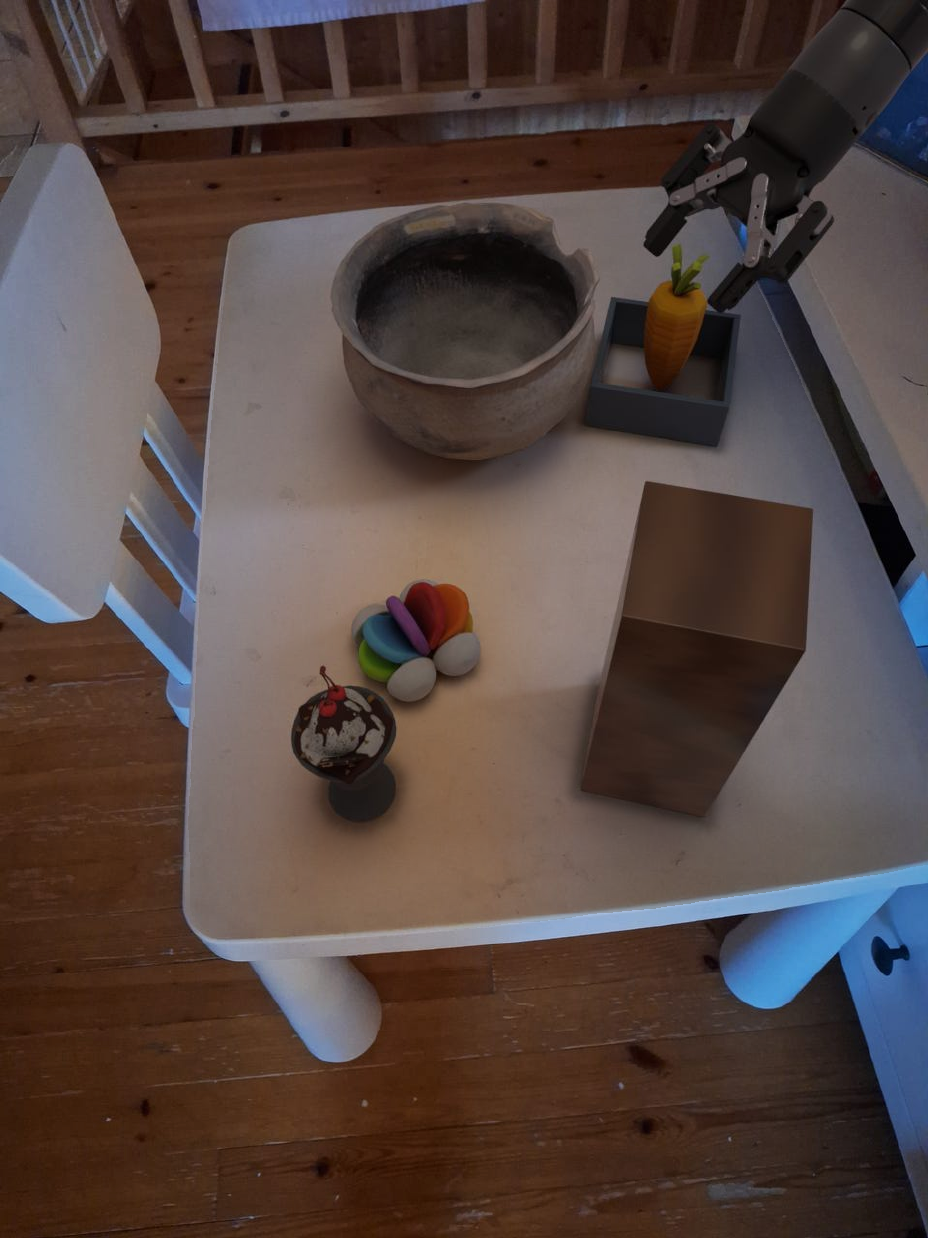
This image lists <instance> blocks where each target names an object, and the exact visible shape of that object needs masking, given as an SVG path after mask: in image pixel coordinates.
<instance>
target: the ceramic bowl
mask: <svg viewBox="0 0 928 1238" xmlns="http://www.w3.org/2000/svg"><path fill="white" fill-rule="evenodd" d="M599 273H600V272H599V270H598V267H597V265H596V264H595V260H594V256H593V255H592V253H591V252H590V250H589V249H587V248H581V247H578V248H577V249H576V250H574V252H573V253H572V254H568V255H567V254H565V253H564V252H563V250H562V247H561V241H560V239H559V235H558V232H557V228H556V225H555V222H554V219H553V218H551V217H549V216H547V215H545V214H543V213H541V212H539V211H537V210H536V209H533V208H531V207H526V206H524V205H523V206H522V205H518V204H513V203H500V202H480V203H478V202H477V203H473V202H472V203H471V202H462V203H456V204H452V205H441V204H439V205H434V206H428V207H425V208H421V209H417V210H413V211H409V212H406V213H404V214H403V213H402V214H401V215H400V214H399V215H397V216H394V217H391V218H389V219H387V220H385V221H382V222H380V223H378V224H377V225H375V226H374V227H373V228H372V229H370V231H369V232H367V233H366V234H364V235H362V237H361V238H359V239H358V240H357V241H356V242H355V243H354V244H353V245H352V247H351V248H350V249H349V251H348V252H347V253H346V255H345V256H344V258H343V259H342V260H341V261H340V263H339V265H338V267H337V269H336V271H335V274H334V278H333V281H332V285H331V289H330V300H331V309H330V310H331V313H332V316H333V319H334V320H335V322H336V325H337V327H338V328H339V330H340V331H341V333H342V334H341V336H342V337H341V341H342V342H341V347H342V355H343V364H344V369H345V372H346V375H347V378H348V381H349V384H350V385H351V387H352V390H353V392H354V395H355V397H356V398H357V400H358V402H359V403H360V405H361V406H362V407H363V408H364V410H365V411H366V412H367V413H368V414H369V416H370V417H371V418H372V419H373V420H374V421H375V422H376V423H377V424H378V425H379V426H380V427H382V428H383V429H384V430H385V431H386V432H388V433H389V434H391V435H392V436H394V437H395V438H397V439H398V440H399V441H401V442H403V443H405V444H407V445H409V446H411V447H412V448H414V449H417V450H419V451H420V452H422V453H426V454H429V455H432V456H437V457H440V458H445V459H453V460H467V461H480V460H481V461H483V460H489V459H494V458H498V457H501V456H505V455H508V454H512V453H513V452H517V451H520V450H523V449H525V448H527V447H528V446H530V445H531V444H533V443H535V442H536V441H538V440H540V439H541V438H543V437H544V436H545V435H546V434H547V433H548V432H549V431H551V430H552V429H553V428H554V427H555V426H556V425H557V424H558V423H560V422H561V421H562V419H563V418H564V417H565V416H566V415H567V414H568V413H569V412H570V411H571V409H572V408H573V407H574V405H575V404H576V402H577V401H578V400H579V398H580V397H581V395H582V394H583V392H584V391H585V388H586V386H587V383H588V380H589V377H590V374H591V370H592V366H593V365H592V364H593V359H594V352H595V351H594V350H595V322H594V316H593V315H594V312H595V310H596V301H595V300H594V294H595V292H596V289H597V287H598V284H599V283H600V280H601V278H600V277H601V276H600V274H599Z"/></svg>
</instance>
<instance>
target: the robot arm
mask: <svg viewBox="0 0 928 1238" xmlns="http://www.w3.org/2000/svg"><path fill="white" fill-rule="evenodd" d="M927 53H928V0H845V2H844V3H843V4H842V5H841V7H840V8H839V10H837V12H836V13H835V14H834V16H832V18H830V20H829V21H827V23H826V24H825V25H824V26H823V27H822V28H821V29H819V31H818V32H817V33H816V34H815V35H814V36H813V37H812V38H811V40H810V41H809V42H808V43H807V44H806V46H805V47H804V48H803V50H802V51H801V52H800V53H799V55H798V56H797V57H796V59H795V60H794V61H793V63H792V64H791V65H790V67H789V68H788V69H787V70H786V71H785V73H784V74H783V75H782V76H781V77H780V79H779V81H777V83H776V84H775V86H774V87H772V90H771V91H769V93H768V95H767V96H766V97H765V98H764V99H763V100H762V102H761V104H760V105H758V107H757V109H756V110H755V111H754V112H753V114H752V115H751V116H750V118H749V121H748V123H747V126H746V129H745V130H744V132H743V133H742V134H741V135H740V136H739V137H738V138H736V139H735V140H730V139H729V138H728V137H727V135H726V134H725V132H724V131H722V129H721V128H720V127H719V126H718V125H717V123H716V122H715V121H711V122H708V123H707V124H705V126H704V127H703V128H702V129H701V130H700V132H699V133H698V135H696V136H695V138H694V139H693V140H692V141H691V143H690V144H689V145H688V146H687V147H686V149H684V151H683V152H682V153H681V155H680V156H679V157H678V158H677V160H676V161H675V162H674V163H673V164H672V166H671V167H669V169H668V170H667V171H666V173H665V174H664V175H663V176H662V178H661V180H660V185H661V187H662V188H664V191H665V192H666V195H667V198H668V202H667V205H666V206H665V207H664V209H663V210H662V211H661V213H660V214H659V215H658V217H657V218H656V219H655V221H654V222H653V223H652V225H651V226H650V227H649V229H647V231H646V233H645V235H644V238H645V240H644V242H643V244H642V245H643V248H644V249H645V250H646V251H648V252H649V253H650V254H651V255H653V256H654V257H655V258H658V257H660V256H661V255H662V254H663V253H664V252H665V251H666V250H667V248H668V247H669V246H670V244H671V243H672V242H673V241H674V239H675V238H676V236H678V234H679V233H680V232H681V231H682V229H683V228H684V227H685V226H686V224H687V223H688V220H687V219H686V218H688V217H691V216H693V215H696V214H698V213H700V212H702V211H706V210H715V209H719V208H722V209H723V210H724V211H725V212H727V213H728V214H729V215H730V216H733V217H735V218H737V220H738V221H740V223H741V224H742V225H743V226H744V227H746V229H745V236H746V238H747V239H746V245H745V252H744V258H743V263H742V264H741V263H740V262H737V263H736V264H735V265H734V266H733V267H732V269H731V270H730V271H729V272H728V274H727V275H726V276H725V277H724V279H723V280H722V281H721V282H720V283H719V284H718V285H717V287H716V288H715V289H714V290H713V291H712V293H711V294H710V295H709V296H708V298H707V305H709V306H710V307H711V308H712V309H713V310H714V311H717V312H719V313H722V312H725V311H726V310H727V311H731V310H732V309H734V308H735V307H736V306H737V305H738V304H739V303H740V302H741V300H742V299H743V298H744V297H745V296H746V294H747V293H748V292H749V291H750V290H751V289H752V287H753V286H754V285H755V284H756V283H757V282H758V281H760V280H762V279H769V280H771V281H775V282H776V283H778V284H779V285H780V284H782V285H783V284H785V283H788V281H789V280H790V279H791V277H793V275H794V274H795V273H796V272H797V270H798V269H799V268H800V267H801V265H802V264H803V263H804V261H806V259H807V258H808V256H809V255H810V253H811V252H812V251H813V250H814V249H815V247H816V246H817V245H818V244H819V242H820V241H821V240H822V239H823V238H824V236H825V235H826V234H827V232H828V231H829V229H830V228H831V227H832V226H833V225H834V222H835V217H834V215H833V214H832V212H831V210H830V209H829V207H828V206H827V205H826V204H825V202H823V201H822V200H816V201H815V200H813V199H811V198H810V195H811V193H812V191H813V189H814V188H815V187H816V186H817V185H819V184H820V183H822V182H823V181H824V180H825V179H826V178H827V177H828V176H829V174H830V173H831V172H832V171H833V170H834V169H835V167H836V166H837V165H838V164H839V163H840V161H841V160H842V159H843V158H844V157H845V156H846V154H847V153H848V152H849V151H850V149H851V148H852V147H853V146H854V145H855V143H856V142H857V141H858V140H859V139H860V137H862V135H863V134H864V133H865V132H866V131H867V130H868V128H869V127H870V126H872V124H873V123H874V122H875V121H876V119H877V118H878V116H880V114H881V112H883V111H884V109H885V108H886V107H887V105H888V104H889V103H890V101H892V99H893V97H894V96H895V95H896V93H897V91H898V90H899V88H900V87H901V85H902V84H903V82H904V81H905V80H906V79H907V77H908V76H909V75H910V73H911V72H912V71H913V70H914V69H915V68H916V66H917V65H918V64H919V63H920V61H921V60H922V59H923V58H924V57H925V56H926V54H927ZM718 162H720V166H719V167H718V168H716V169H714V170H711V171H709V172H707V173H705V172H706V171H707V170H708V169H709V168H710V167H711V165H712V164H713V163H718ZM704 173H705V174H704ZM793 215H796V216H795V219H794V226H793V227H792V228H791V230H790V231H789V232H788V234H786V236H785V237H784V239H782V241H781V242H780V244H779V245H778V246H777V244H778V238H779V233H780V227H781V221H782V220H784V219H786V218H788V217H791V216H793ZM776 247H777V248H776ZM775 248H776V249H775ZM774 249H775V250H774Z"/></svg>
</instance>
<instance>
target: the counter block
mask: <svg viewBox="0 0 928 1238" xmlns="http://www.w3.org/2000/svg"><path fill="white" fill-rule="evenodd" d="M643 485H644V486H643V488H642V489H643V490H642V493H641V498H640V503H639V506H638V511H637V516H636V519H635V520H636V521H635V525H634V528H633V533H632V538H631V543H630V547H629V551H628V556H627V560H626V565H625V569H624V573H623V578H622V582H621V586H620V591H619V594H618V600H617V604H616V608H615V613H614V618H613V622H612V626H611V631H610V635H609V639H608V643H607V649H606V653H605V656H604V661H603V667H602V670H601V675H600V680H599V684H598V689H597V695H596V700H595V706H594V710H593V717H592V723H591V728H590V733H589V738H588V742H587V749H586V754H585V759H584V765H583V771H582V777H581V782H580V787H579V790H580V791H583V792H588V793H592V794H596V795H601V796H606V797H609V798H616V799H619V800H624V801H629V802H633V803H636V804H637V803H639V804H642V805H648V806H652V807H656V808H661V809H666V810H671V811H674V812H678V813H679V812H680V813H684V814H688V815H692V816H698V817H702V818H705V817H706V816H707V814H708V813H709V811H710V810H711V808H712V806H713V805H714V803H715V802H716V799H717V798H718V796H719V794H720V793H721V791H722V789H723V788H724V787H725V785H726V783H727V782H728V780H729V779H730V777H731V775H732V773H733V772H734V770H735V768H736V767H737V765H738V764H739V761H741V759H742V757H743V755H744V754H745V752H746V750H747V748H748V747H749V746H750V743H751V742H752V741H753V739H754V737H755V735H756V733H757V732H758V731H759V729H760V727H761V726H762V724H763V722H764V721H765V719H766V717H767V715H768V714H769V712H770V710H771V709H772V707H773V706H774V704H775V702H776V701H777V699H778V697H779V696H780V694H781V692H782V691H783V690H784V687H785V686H786V684H787V683H788V681H789V679H790V678H791V676H792V674H793V673H794V671H795V669H796V668H797V666H798V664H799V663H800V661H801V660H802V657H803V656H804V654H805V653H806V651H807V641H808V640H807V639H808V620H809V619H808V618H809V601H810V600H809V599H810V583H811V582H810V581H811V579H810V578H811V561H812V560H811V559H812V539H813V521H814V509H813V508H812V507H805V506H799V505H793V504H787V503H782V502H775V501H770V500H764V499H757V498H752V497H745V496H739V495H733V494H727V493H721V492H714V491H710V490H703V489H699V488H698V489H697V488H691V487H687V486H686V487H685V486H680V485H674V484H667V483H662V482H656V481H649V480H645V481H644V484H643Z"/></svg>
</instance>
